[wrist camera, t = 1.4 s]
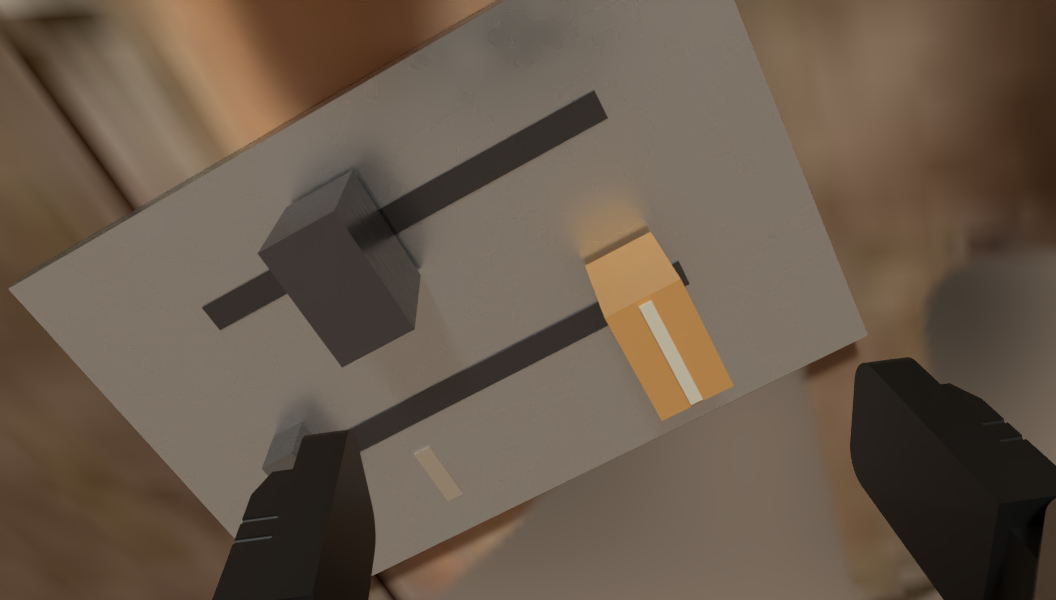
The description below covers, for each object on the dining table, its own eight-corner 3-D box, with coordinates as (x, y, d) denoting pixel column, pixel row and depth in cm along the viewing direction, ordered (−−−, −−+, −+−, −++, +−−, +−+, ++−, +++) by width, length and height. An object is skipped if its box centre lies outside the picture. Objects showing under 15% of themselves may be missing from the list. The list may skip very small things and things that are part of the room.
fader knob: (650, 231, 33) (682, 281, 29) (698, 327, 35) (735, 388, 31) (584, 265, 34) (605, 320, 29) (635, 358, 36) (663, 423, 31)
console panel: (677, -105, 31) (739, -115, 24) (848, 316, 38) (931, 398, 32) (31, 269, 34) (-72, 352, 28) (307, 581, 42) (278, 704, 36)
